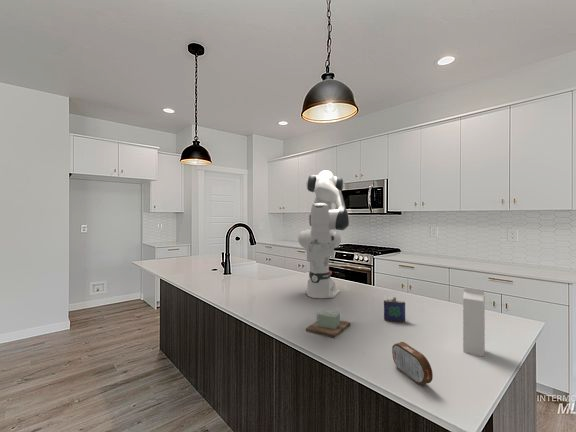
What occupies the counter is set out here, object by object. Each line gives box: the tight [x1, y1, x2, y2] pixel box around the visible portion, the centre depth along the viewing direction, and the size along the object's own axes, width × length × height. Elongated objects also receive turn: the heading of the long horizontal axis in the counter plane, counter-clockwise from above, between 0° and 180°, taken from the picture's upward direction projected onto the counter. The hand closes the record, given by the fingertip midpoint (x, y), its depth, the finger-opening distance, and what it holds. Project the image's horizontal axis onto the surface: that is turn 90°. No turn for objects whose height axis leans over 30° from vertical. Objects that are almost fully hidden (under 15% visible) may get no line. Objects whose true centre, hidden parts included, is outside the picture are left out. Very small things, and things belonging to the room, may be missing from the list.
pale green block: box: [316, 309, 341, 329], centre depth 126 cm, size 6×8×5 cm
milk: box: [462, 287, 486, 357], centre depth 104 cm, size 6×6×22 cm
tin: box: [391, 341, 434, 386], centre depth 88 cm, size 15×3×8 cm, turn 17°
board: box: [305, 319, 351, 339], centre depth 126 cm, size 16×13×1 cm
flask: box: [383, 296, 407, 323], centre depth 134 cm, size 9×3×11 cm, turn 74°
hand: (321, 268), depth 136 cm, fingers open, 8 cm apart
